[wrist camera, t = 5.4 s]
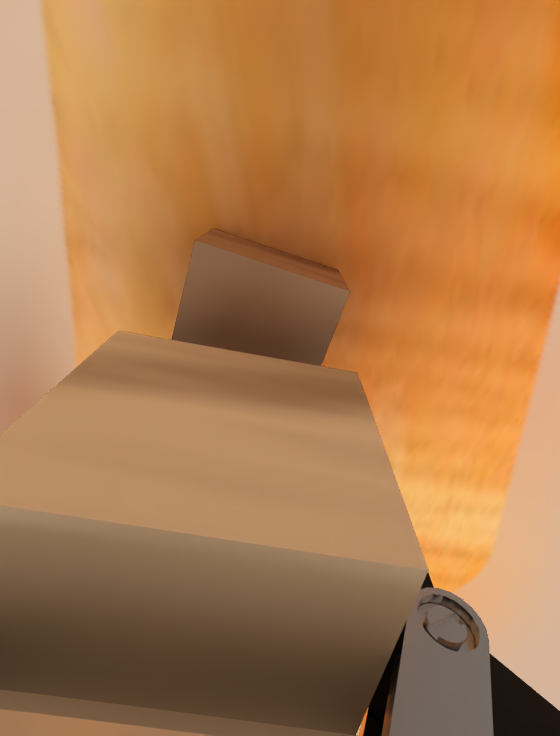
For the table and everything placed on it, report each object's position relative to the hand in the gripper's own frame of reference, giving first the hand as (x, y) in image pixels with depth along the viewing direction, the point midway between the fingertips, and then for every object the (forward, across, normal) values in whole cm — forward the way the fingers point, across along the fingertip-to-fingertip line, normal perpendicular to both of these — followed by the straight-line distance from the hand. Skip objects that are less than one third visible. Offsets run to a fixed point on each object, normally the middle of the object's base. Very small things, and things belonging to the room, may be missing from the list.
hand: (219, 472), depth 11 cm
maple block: (+1, 0, 0) cm, 1 cm away
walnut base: (+15, 0, 0) cm, 15 cm away
